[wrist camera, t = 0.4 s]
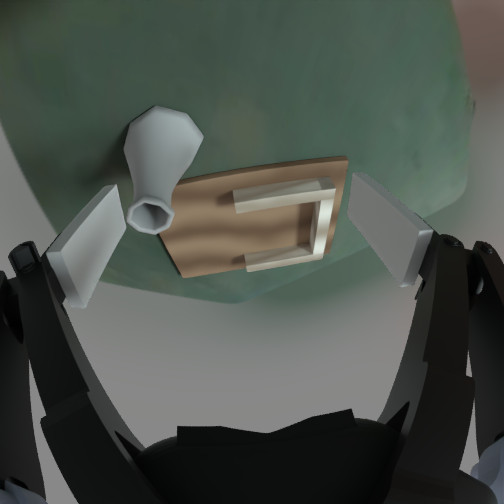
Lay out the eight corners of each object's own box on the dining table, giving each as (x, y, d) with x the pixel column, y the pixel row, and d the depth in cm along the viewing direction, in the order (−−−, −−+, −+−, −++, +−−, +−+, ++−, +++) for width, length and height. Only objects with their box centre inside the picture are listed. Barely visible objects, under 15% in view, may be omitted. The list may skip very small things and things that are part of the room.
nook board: (140, 189, 27) (136, 207, 25) (345, 156, 27) (356, 171, 26) (183, 273, 41) (183, 290, 39) (327, 248, 41) (333, 264, 40)
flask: (171, 182, 27) (165, 262, 21) (111, 149, 23) (83, 228, 17) (218, 134, 24) (226, 209, 18) (154, 90, 19) (128, 154, 13)
